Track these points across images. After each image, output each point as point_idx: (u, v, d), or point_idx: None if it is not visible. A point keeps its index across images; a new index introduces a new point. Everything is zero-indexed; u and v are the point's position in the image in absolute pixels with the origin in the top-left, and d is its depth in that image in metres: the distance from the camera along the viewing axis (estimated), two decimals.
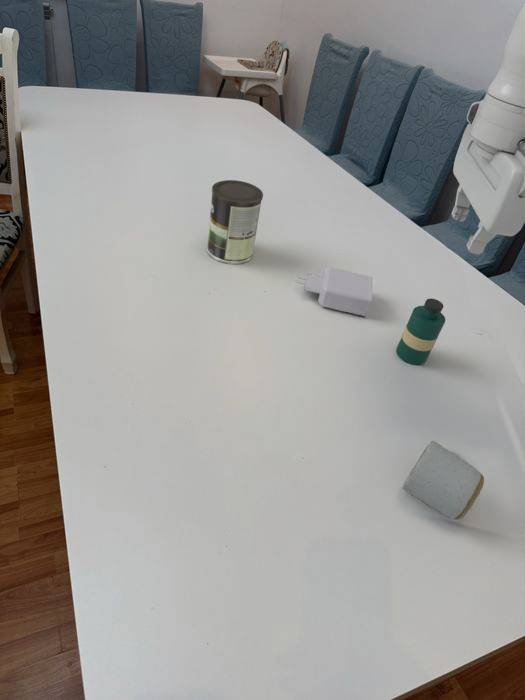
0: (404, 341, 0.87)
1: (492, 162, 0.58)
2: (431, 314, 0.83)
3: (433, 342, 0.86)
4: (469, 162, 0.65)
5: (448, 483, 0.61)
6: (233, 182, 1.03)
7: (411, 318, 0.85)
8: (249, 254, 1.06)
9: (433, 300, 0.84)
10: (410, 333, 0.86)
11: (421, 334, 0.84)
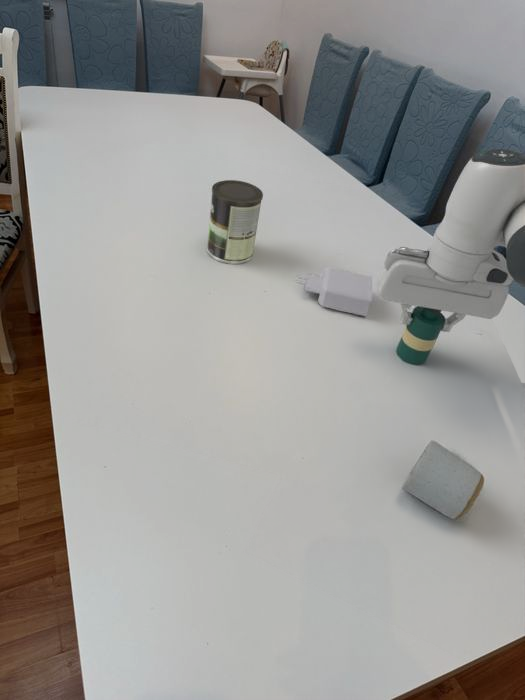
0: (404, 341, 0.87)
1: None
2: (431, 314, 0.83)
3: (433, 342, 0.86)
4: None
5: (448, 483, 0.61)
6: (233, 182, 1.03)
7: None
8: (249, 254, 1.06)
9: None
10: (410, 333, 0.86)
11: (421, 334, 0.84)
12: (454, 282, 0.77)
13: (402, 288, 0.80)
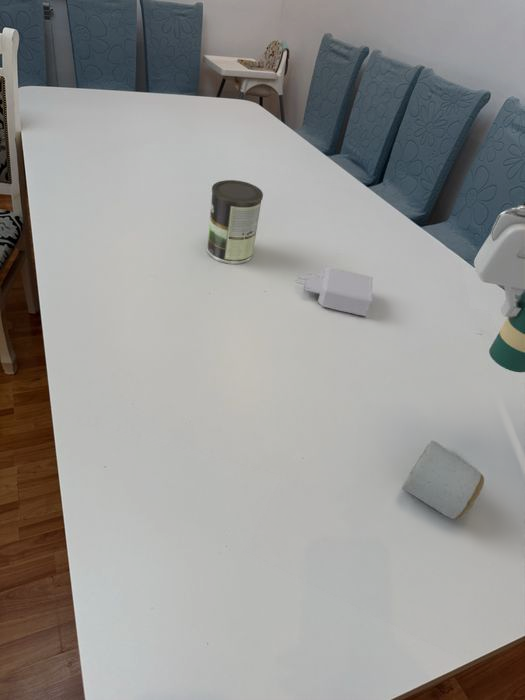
0: (505, 340, 0.64)
1: None
2: None
3: None
4: None
5: (448, 483, 0.61)
6: (233, 182, 1.03)
7: None
8: (249, 254, 1.06)
9: None
10: (516, 328, 0.62)
11: None
12: None
13: (516, 265, 0.56)
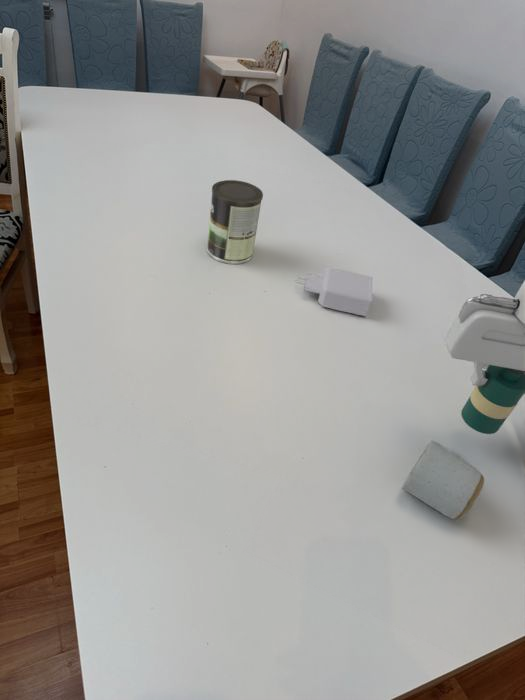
0: (474, 406, 0.70)
1: None
2: (513, 375, 0.66)
3: (512, 408, 0.68)
4: None
5: (448, 483, 0.61)
6: (233, 182, 1.03)
7: None
8: (249, 254, 1.06)
9: None
10: (484, 396, 0.68)
11: (499, 400, 0.67)
12: None
13: (481, 345, 0.62)
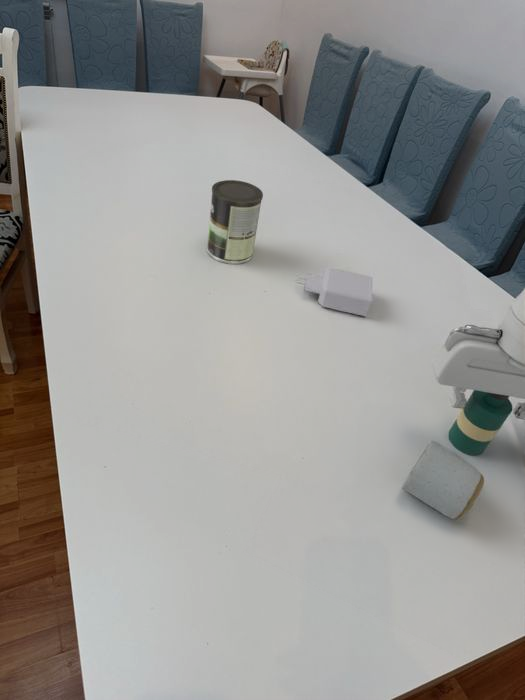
0: (460, 428, 0.73)
1: None
2: (496, 401, 0.69)
3: (496, 431, 0.71)
4: None
5: (448, 483, 0.61)
6: (233, 182, 1.03)
7: (470, 403, 0.71)
8: (249, 254, 1.06)
9: None
10: (469, 420, 0.71)
11: (483, 424, 0.70)
12: None
13: (467, 372, 0.65)
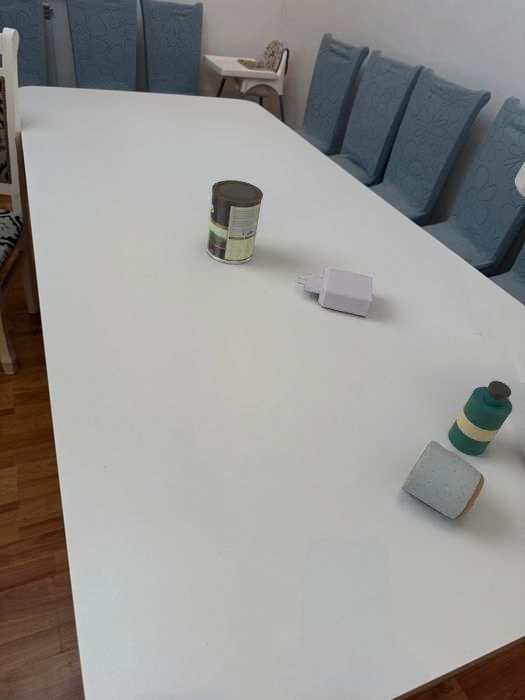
0: (460, 428, 0.73)
1: None
2: (496, 401, 0.69)
3: (496, 431, 0.71)
4: None
5: (448, 483, 0.61)
6: (233, 182, 1.03)
7: (470, 403, 0.71)
8: (249, 254, 1.06)
9: (498, 383, 0.69)
10: (469, 420, 0.71)
11: (483, 424, 0.70)
12: None
13: None
